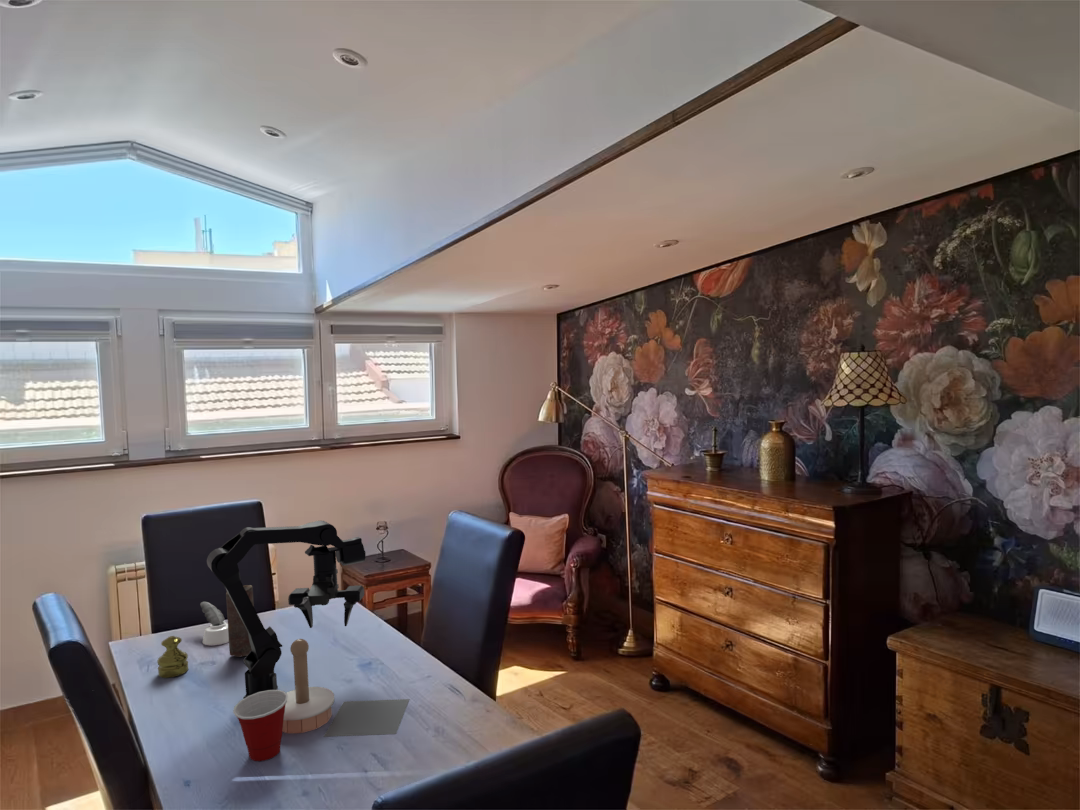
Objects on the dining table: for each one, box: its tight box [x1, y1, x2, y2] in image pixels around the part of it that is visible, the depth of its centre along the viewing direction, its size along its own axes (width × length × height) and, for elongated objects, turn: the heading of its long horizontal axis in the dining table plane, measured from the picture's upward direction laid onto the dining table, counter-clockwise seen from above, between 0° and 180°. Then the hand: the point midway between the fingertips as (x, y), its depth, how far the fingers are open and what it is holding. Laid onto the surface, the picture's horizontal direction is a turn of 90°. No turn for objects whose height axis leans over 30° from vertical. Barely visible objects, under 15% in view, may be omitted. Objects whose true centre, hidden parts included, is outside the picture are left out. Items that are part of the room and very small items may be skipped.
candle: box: [225, 584, 255, 658], centre depth 200 cm, size 8×7×20 cm
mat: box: [323, 698, 410, 738], centre depth 161 cm, size 16×16×1 cm
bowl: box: [282, 706, 333, 734], centre depth 161 cm, size 12×12×4 cm
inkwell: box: [199, 601, 229, 647], centre depth 216 cm, size 9×18×10 cm, turn 50°
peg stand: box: [283, 638, 335, 720], centre depth 160 cm, size 14×14×16 cm
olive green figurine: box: [156, 635, 189, 679], centre depth 190 cm, size 7×7×10 cm
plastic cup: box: [232, 689, 288, 762], centre depth 146 cm, size 11×11×12 cm
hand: (328, 626), depth 185 cm, fingers open, 9 cm apart
